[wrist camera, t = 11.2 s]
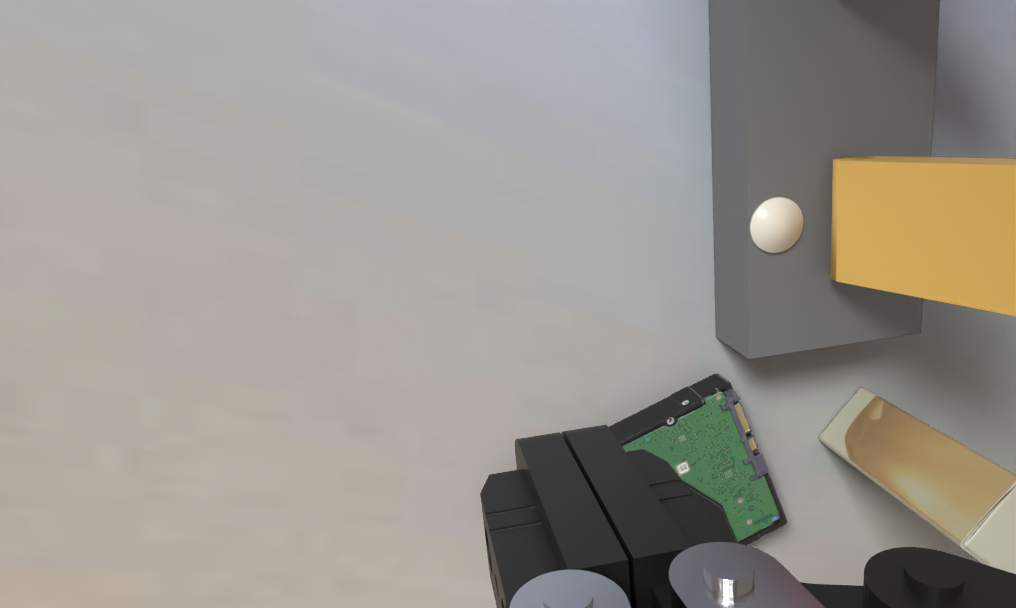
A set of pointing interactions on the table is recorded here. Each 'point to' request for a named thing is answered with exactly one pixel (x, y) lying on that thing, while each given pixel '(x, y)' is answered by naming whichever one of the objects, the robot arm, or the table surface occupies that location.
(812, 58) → the dark grey flat block
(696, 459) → the disk drive
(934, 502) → the skincare box
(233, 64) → the table surface
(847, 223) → the amber switch
